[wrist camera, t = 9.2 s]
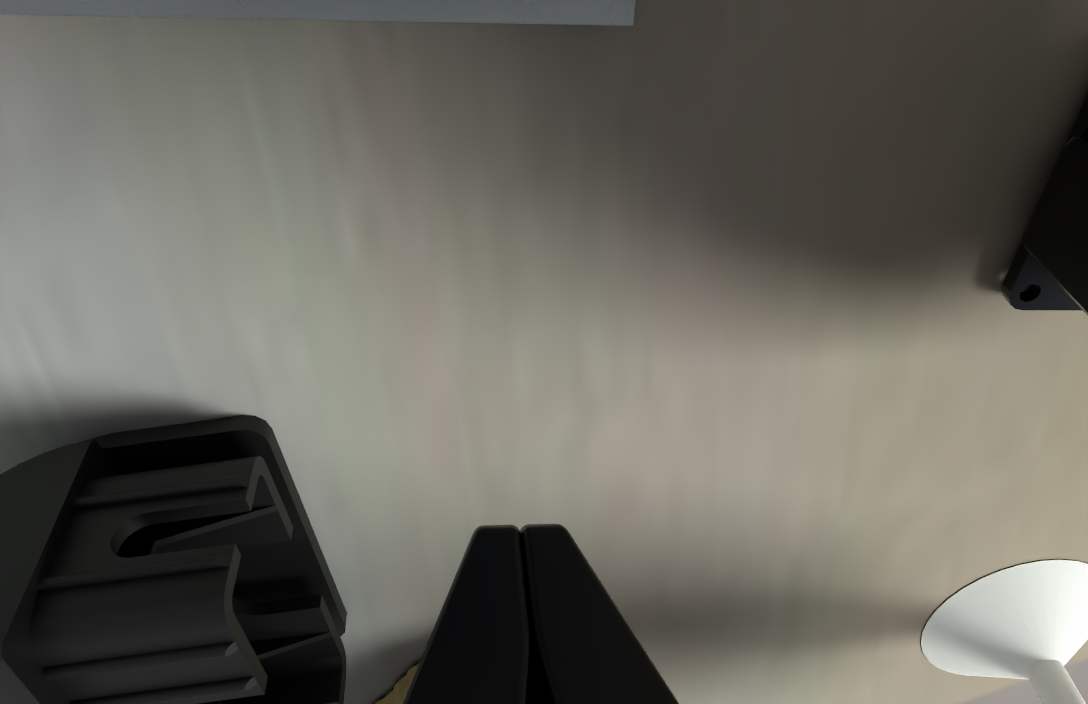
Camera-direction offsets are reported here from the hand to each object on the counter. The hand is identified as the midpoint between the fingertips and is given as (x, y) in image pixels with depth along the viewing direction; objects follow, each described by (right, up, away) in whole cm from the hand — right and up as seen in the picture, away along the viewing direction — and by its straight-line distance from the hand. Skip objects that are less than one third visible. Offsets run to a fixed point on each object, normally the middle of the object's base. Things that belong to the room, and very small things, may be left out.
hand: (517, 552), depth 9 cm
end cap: (-10, -3, +17) cm, 20 cm away
